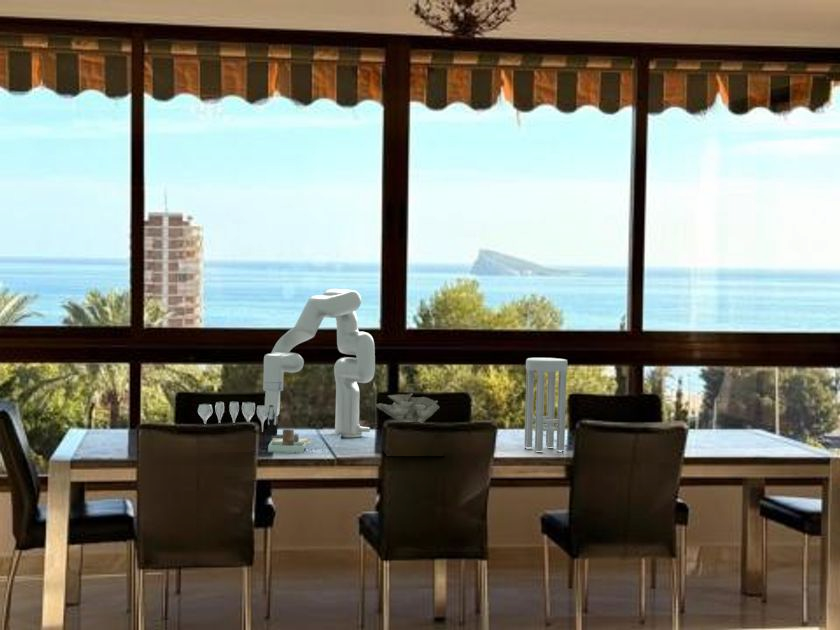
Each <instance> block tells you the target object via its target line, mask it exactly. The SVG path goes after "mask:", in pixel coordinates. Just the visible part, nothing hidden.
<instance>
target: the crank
mask: <svg viewBox="0 0 840 630" xmlns="http://www.w3.org/2000/svg"><path fill="white" fill-rule="evenodd" d="M299 436H300V435H299V433H296V432H294V442H299V439H300V437H299ZM273 438H283V434H278V433H277V434H276V436H271V439H273Z"/></svg>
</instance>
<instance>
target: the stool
mask: <svg viewBox="0 0 840 630" xmlns="http://www.w3.org/2000/svg"><path fill="white" fill-rule="evenodd" d="M525 370H526V379H525V380H526V381H525V385H526V387H525V413H524V414H525V415H524V446H525V447H532V448H533V434H534V433H533V431H534V429H535V431H534V432H535V434H534V452H535V451H544V449H543V448H544V447H543V446H544V432H545V447H546V446H547V447H553V448H554V444H555V441H554V440H555V439H554V437H555V432H556V447H555V448H556V449H557V450H564V451H565V441H566V438H565V436H566V434H565V433H566V408H567V407H566V405H567V403H566V401H567V374H568V372H567V371H568V359H565V358H556V357H528V358H526V360H525ZM535 371H536V390H535ZM546 372H547V391H546V392H547V394H546V395H547V396H546V416H545V415H544V413H545V412H544V411H545V410H544V409H545V383H546V382H545V381H546ZM557 372H558V386H557V387H558V388H557V416H556V417H557V418H556V419H555V409H556V408H555V407H556V377H557V376H556V373H557ZM535 391H536V393H535ZM534 394H536V396H534ZM534 397H536V398H535V399H536V400H535V416H534ZM534 421H535V424H534ZM555 424H556V427H555Z"/></svg>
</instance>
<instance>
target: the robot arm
mask: <svg viewBox="0 0 840 630" xmlns="http://www.w3.org/2000/svg"><path fill="white" fill-rule="evenodd" d="M361 305H362V297H361V294H360V293H359V292H358V291H357V290H353V289H343V288H341V289H340V288H330V289H327V290H324V292H323V294H322V295H312V296H311V297H309V298H308V300H307V302H306V304H305V305H304V307H303V310H302V312H301V313H300V315H299V317H298V319H297V322H296V323H295V325H294V326H293V327H292V328H290V329H289V330H288V331H287V332H285V334H283V335H282V336H281V337H280V338H279V339H278V340H277V342H276V343H275V345H274V347H273V348H272V350H271V352H270V353H266V354H264V357H263V379H262V381H263V384H262V385H263V387H262V388H263V391H264V392H265V393H264V394H265V396H264V405H265V409H264V416H265V417H266V416H267V415H268V416H267V436H268V437H269V436H271V437H272V436H276V434H278V416H279V415H280V409H281V392H283V391H284V373H294V374H295V373H297V372H300V371H301V370H302V369H303V367H304V363H305V360H304V358H303V357H302V356H301V355H300V354H299V353H296V352H291V350H293V348H295V347H296V346H298V345H299V344H302V343H304V342H306V341H309V340H310V339H313V338H315V336H316V333H317V332H318V330H319V328H320V326H321V324H322V322H323V320H324V318H327V319H329V318H330V319H331V318H332V319H333V318H335V321H336V345H337V350H338V352H339V353H341V354H345V355H350V356H356V357H349V356H348V357H346V356H344V357H340V358H339V359H337V360H336V362H335V363H334V366H333V373H334V379H335V380H334V381H335V420H334V422H335V423H334V427H335V428H334V431H331V433H330V434H331V435H332V434H333V435H341V436H340V437H341V438H347V439H348V438H360V437H363V432H365V433H370V432H371V427H369V426H361V424H360V399H361V398H360V397H361V396H360V395H361V394H360V393H361V392H360V388H359V384H358V383H361V384H366V383H369V382H371V381H372V380H373V379H374V378H375V377H374V376H375V372H376V355H375V353H376V351H375V350H376V347H375V346H376V345H375V341H374V338H373V336H372V334H370V333H369V332H365V331H360V330H359V323H358V321H359V320H358V316H357V313H356V311H357V310H358V309H359V308H360V306H361Z"/></svg>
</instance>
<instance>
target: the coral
mask: <svg viewBox="0 0 840 630" xmlns="http://www.w3.org/2000/svg"><path fill="white" fill-rule="evenodd" d="M413 394H414V393H412V392H411V393H408V394H401V393H399V394H398V393H397V394H391V395H390V394H389V395H387V397H388V398H389V399H390V400H392V401H393V403H392V404H386V403H380V402H379V403H376V404H375V407H376V408H377V409H378V410H380V411H382V412H384V413H385V414H386V415H388V416H389V417H391V418H393V419H394V420H395V422H396V421H404V422H420V423H424V424H425V422H426V421H427V420H428V419H429V418H431V417H432V416H433V415H434V414H435V413H436V412H437V411H438V410H440V408H441V407H440V406H439V404H438V402H439V401H438V400H434V399H431V398H429V397H426V396H421V397H418V396H417V397H413Z"/></svg>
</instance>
